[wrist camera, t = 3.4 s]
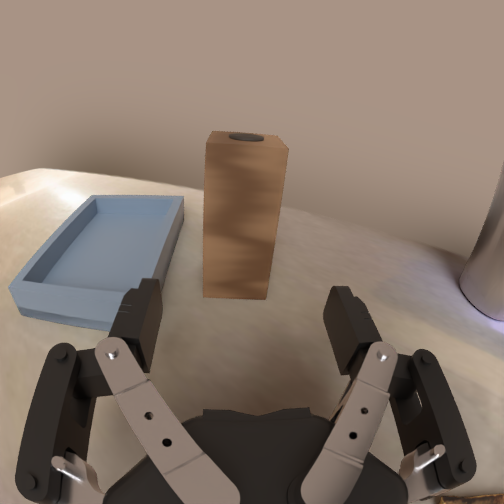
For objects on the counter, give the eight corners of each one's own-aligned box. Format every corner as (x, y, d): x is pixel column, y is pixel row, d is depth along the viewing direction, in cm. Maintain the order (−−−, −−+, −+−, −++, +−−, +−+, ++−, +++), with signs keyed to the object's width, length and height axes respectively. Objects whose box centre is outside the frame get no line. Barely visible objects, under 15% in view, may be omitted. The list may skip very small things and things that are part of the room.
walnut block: (260, 264, 27) (277, 133, 21) (265, 299, 23) (289, 146, 16) (207, 261, 27) (212, 129, 20) (203, 297, 22) (206, 140, 16)
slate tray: (183, 219, 33) (183, 196, 32) (149, 336, 18) (142, 304, 17) (94, 216, 32) (91, 195, 31) (21, 315, 17) (8, 287, 15)
